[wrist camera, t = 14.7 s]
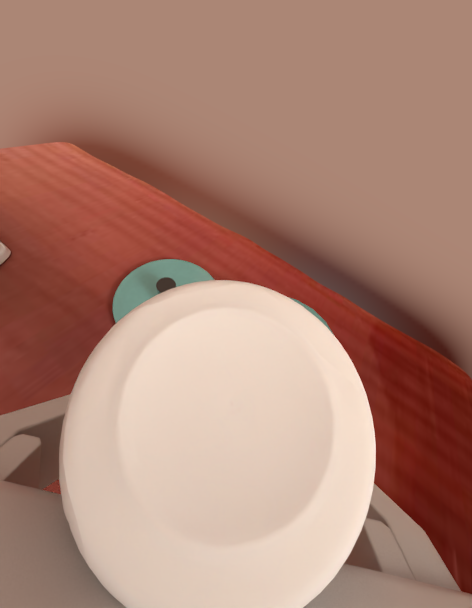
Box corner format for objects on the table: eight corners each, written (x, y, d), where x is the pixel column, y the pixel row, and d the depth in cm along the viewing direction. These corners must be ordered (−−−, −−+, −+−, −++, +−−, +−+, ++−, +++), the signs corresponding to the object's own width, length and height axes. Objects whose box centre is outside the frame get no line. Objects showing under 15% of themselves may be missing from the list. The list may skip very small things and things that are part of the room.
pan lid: (95, 293, 36) (81, 272, 32) (183, 250, 43) (182, 227, 38) (150, 376, 32) (142, 365, 27) (241, 313, 38) (246, 296, 33)
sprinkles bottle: (161, 480, 14) (-55, 694, 2) (173, 394, 16) (103, 258, 4) (243, 480, 14) (450, 644, 2) (242, 396, 16) (349, 279, 5)
